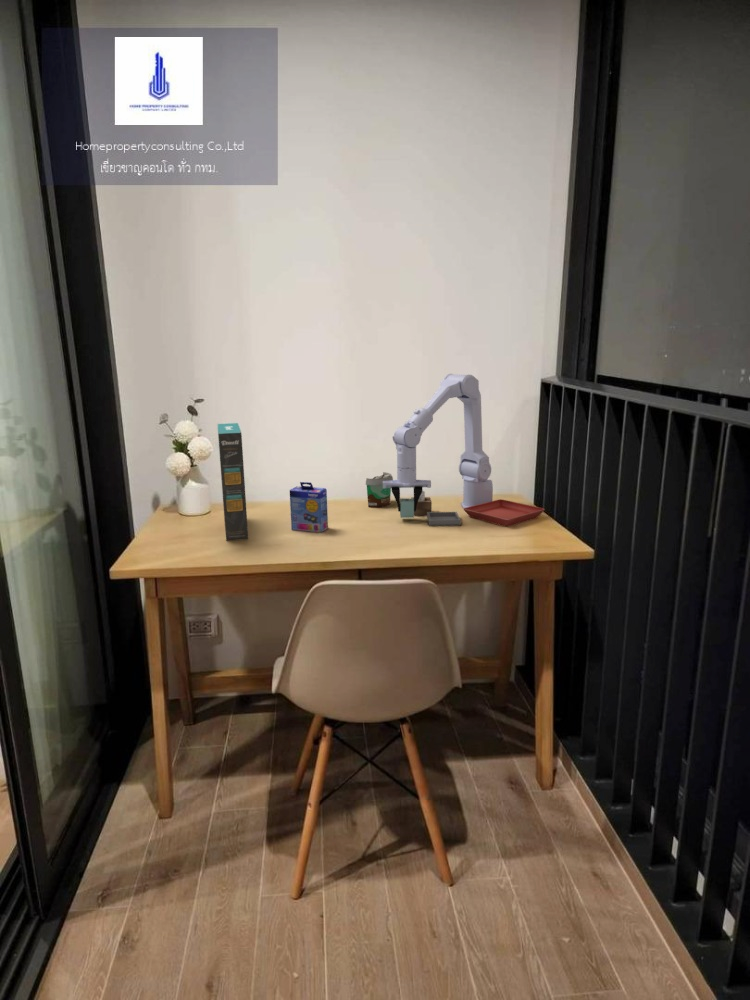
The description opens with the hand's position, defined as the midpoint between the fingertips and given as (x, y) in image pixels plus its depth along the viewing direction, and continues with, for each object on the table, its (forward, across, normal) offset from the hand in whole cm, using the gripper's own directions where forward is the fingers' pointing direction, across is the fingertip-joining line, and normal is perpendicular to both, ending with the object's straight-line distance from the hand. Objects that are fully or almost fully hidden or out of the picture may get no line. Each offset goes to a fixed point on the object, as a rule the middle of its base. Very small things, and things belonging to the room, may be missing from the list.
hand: (406, 510), depth 195 cm
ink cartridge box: (+3, -29, -8) cm, 30 cm away
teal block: (+2, 0, 0) cm, 2 cm away
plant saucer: (+4, +30, +2) cm, 30 cm away
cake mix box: (+3, -51, -7) cm, 52 cm away
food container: (+3, -7, +19) cm, 20 cm away
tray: (+3, +11, -2) cm, 12 cm away
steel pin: (+3, +5, +8) cm, 10 cm away
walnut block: (+3, +5, +8) cm, 10 cm away
